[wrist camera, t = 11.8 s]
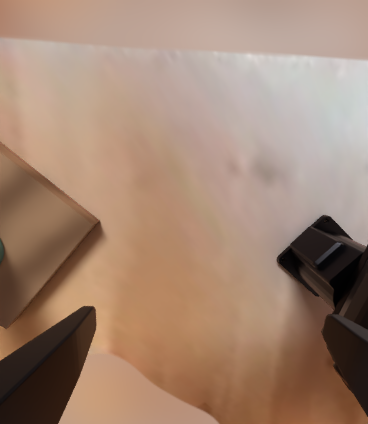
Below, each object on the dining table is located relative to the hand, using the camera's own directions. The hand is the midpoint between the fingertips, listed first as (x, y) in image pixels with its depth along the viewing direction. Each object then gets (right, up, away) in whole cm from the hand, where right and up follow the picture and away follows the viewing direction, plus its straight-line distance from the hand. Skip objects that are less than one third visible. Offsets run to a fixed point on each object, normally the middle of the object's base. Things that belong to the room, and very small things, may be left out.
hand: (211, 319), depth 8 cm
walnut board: (-20, +3, +12) cm, 24 cm away
